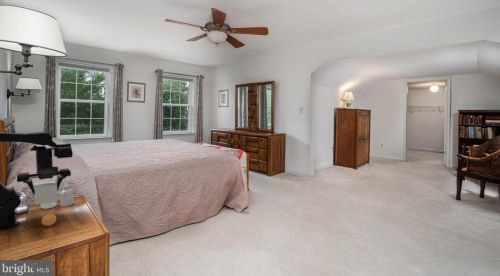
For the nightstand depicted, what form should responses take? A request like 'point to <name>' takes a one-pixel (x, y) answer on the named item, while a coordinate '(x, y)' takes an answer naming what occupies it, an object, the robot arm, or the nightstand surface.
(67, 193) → the eye dropper bottle
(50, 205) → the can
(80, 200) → the nightstand surface
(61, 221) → the nightstand surface
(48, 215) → the ball
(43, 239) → the nightstand surface
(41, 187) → the white block
